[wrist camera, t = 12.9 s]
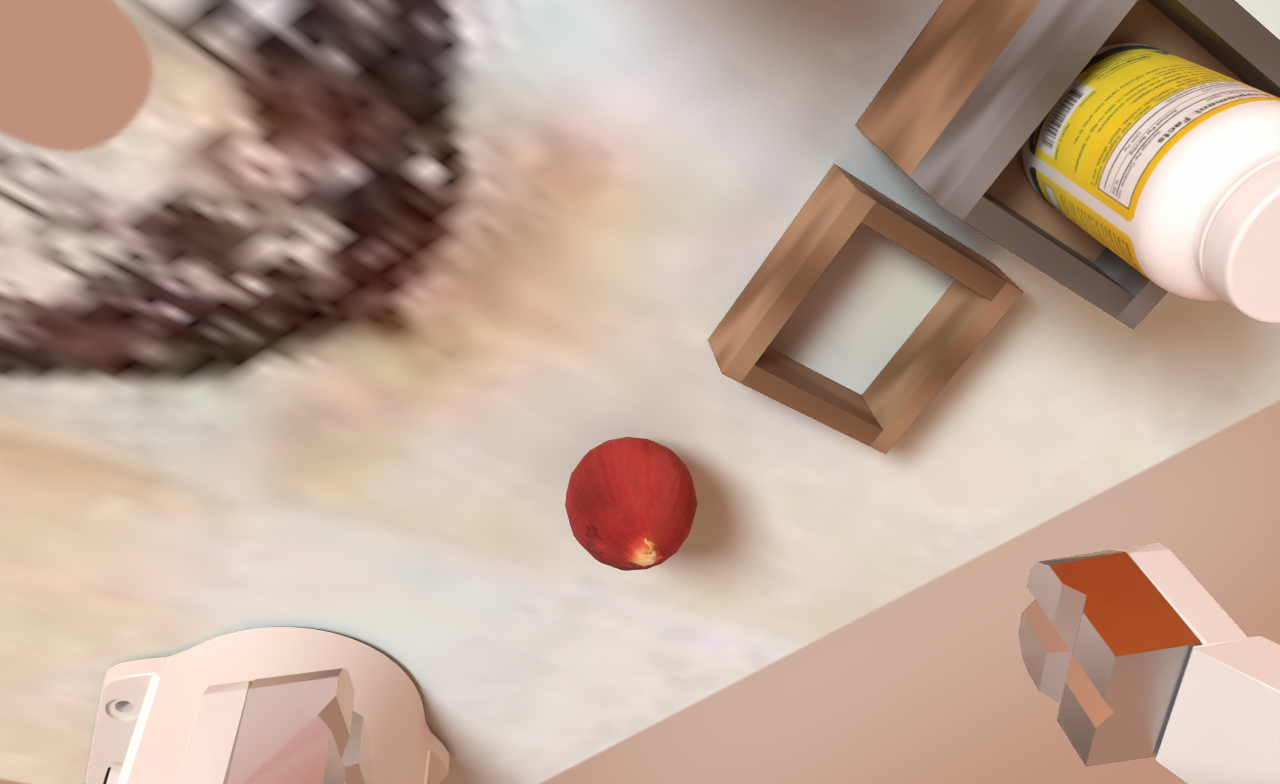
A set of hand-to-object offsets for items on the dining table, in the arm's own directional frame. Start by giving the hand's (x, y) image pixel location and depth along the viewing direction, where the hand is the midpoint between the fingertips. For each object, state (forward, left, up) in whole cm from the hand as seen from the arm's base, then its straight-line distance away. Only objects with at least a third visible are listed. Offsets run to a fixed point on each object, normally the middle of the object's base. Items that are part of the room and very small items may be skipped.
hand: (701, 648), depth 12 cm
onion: (-15, -13, -31) cm, 37 cm away
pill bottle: (+8, -18, -25) cm, 32 cm away
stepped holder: (+2, -18, -31) cm, 36 cm away
